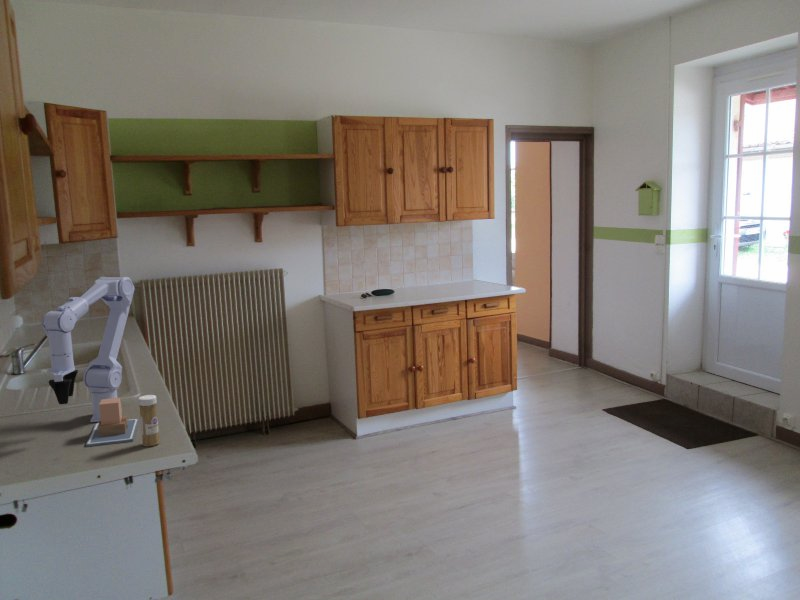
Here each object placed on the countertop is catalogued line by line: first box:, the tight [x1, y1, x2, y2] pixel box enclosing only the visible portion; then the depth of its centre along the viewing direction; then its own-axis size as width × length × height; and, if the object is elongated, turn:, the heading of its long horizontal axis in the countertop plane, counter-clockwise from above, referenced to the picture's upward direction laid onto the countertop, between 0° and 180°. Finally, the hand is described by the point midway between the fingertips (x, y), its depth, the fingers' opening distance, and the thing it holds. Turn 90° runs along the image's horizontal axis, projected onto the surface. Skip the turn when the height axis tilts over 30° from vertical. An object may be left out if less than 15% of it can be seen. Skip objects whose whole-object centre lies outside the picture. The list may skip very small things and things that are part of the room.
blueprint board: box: [85, 418, 140, 448], centre depth 189 cm, size 18×12×1 cm, turn 17°
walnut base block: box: [98, 415, 129, 437], centre depth 189 cm, size 7×7×3 cm
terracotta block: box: [99, 397, 123, 425], centre depth 188 cm, size 5×5×6 cm
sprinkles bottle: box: [138, 394, 161, 447], centre depth 179 cm, size 5×5×13 cm
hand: (66, 399), depth 187 cm, fingers open, 7 cm apart
